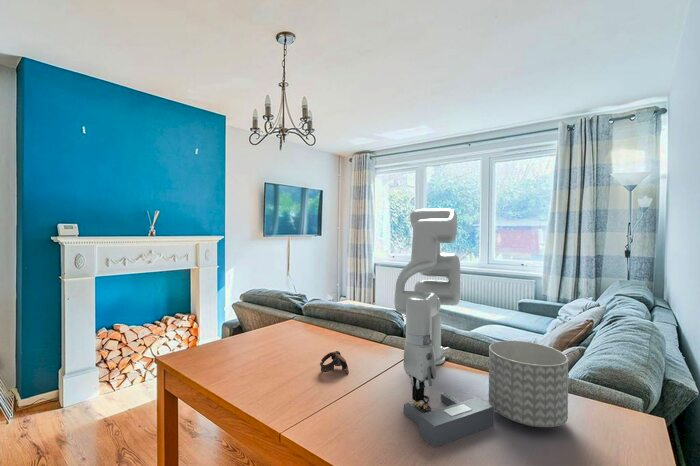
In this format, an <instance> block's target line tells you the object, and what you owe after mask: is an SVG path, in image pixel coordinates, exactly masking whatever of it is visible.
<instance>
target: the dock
mask: <svg viewBox="0 0 700 466" xmlns="http://www.w3.org/2000/svg"><path fill="white" fill-rule="evenodd" d="M440 403H442V404H443V405H444V406H445V407H441V408H438V409H434V410H431V412H427V413H426V412H424V413H422V412H421V411H419V409H417V407H413V405H412V404H410V403H409V402H406V403H403V414H405V415H406V417H408V418H409V419H410V420H412V421H413V422H414V423H415V424H417V425H418V426H419V436H420V437H421V438H422V439H424V440H425V441H426V442H427V443H429V444H430V445H431V446H432V447H434V448H437V447H440V446H442V445H444V444H445V445H446V444H447V443H450V442H453V441H455V440H459V439H461V438H464V437H467V436H469V435H472V434H475V433H477V432H481V431H483V430H485V429H488V428H491V427H494V426H493V425H494V422H495V421H494V419H495V418H494V417H495V415H494V414H495V410H494V406H492V405H490V403H489V402H486V401H485V400H483V399H481V398H479V397H478V396H477V397H474V398H470V399H467V400H463V401H459V400H458V399H456V398H454V397H453V396H451V395H449V394H448V393H446V392H441V393H440Z"/></svg>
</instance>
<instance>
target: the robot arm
mask: <svg viewBox="0 0 700 466" xmlns="http://www.w3.org/2000/svg"><path fill="white" fill-rule="evenodd" d="M409 214H410V215H409V220H410V224H411V227H412V241H411V242H412V243H411V253H410V254H411V255H410V261H409V262H408V263H407V264H406V265H405V266H404V267H403V269H402V270H401V271H400V273H399V274H398V276H397V278H396V283H395V289H394V290H395V291H394V309H395V311H396V312H397V313H398V314H400V315H401V314H402V315H405V342H404V347H403V348H404V349H403V369H404V371H405V374H406V375H407V376H408V377H409V379H410V385H411V387H412V388H411V391H412V394H411V396H412V397H411V398H412V400H413V401H414V402H415V403H416V402H420V401H421V402H423V400H424V399H425V398H424V395H425V388H426V387H427V388H429V387H432V386H433V384H432V383H433V382H432V380H436V377H437V368H436V367H437V365H441V364H444V363H445V362H446V356H444V354H446V353H450V351H451V349H450V347H449V346H446V347H443V346H442V317H441V316H442V315H441V313H440V309H441V306H450V307H451V306H458V304H459V303H460V300H461V262H460V259H459V255H457V254H456V253H452V252H451V253H449V252H441V243H442V244H453V243H454V242H455V241H456V238H457V234H458V214H457V212H456V210H455V209H452V208H420V209H415V210H413V211H411V213H409ZM418 273H419V274H420V275H421V276H422V277H431V278H432V277H433V278H446V279H448V280H441V279H439V280H438V279H421V280H417V282H416V283H415V285H414V290H405V287H406V284H407V282H408V281H409V279H411V277H413V276H415V275H416V274H418Z"/></svg>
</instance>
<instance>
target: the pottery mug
mask: <svg viewBox="0 0 700 466" xmlns="http://www.w3.org/2000/svg"><path fill="white" fill-rule="evenodd" d="M330 358H331V362H329V363H327V364H325V362H326V361H327V360H328V359H330ZM319 366H320V372H321V373H329V372H335V367H341V369H342V370H344V371H345V372H346V375H347V376H348V375H349V374H350V373H349V372H350V371H349V367H348V364H347V361H346V359H345V358H344V356H343V355H341V352H340V351H338V350H336V351H332V352H329V353H326V354H325V355H324V356H323V357H322V358H321V361H320V362H319Z"/></svg>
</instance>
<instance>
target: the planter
mask: <svg viewBox="0 0 700 466" xmlns="http://www.w3.org/2000/svg"><path fill="white" fill-rule="evenodd" d="M488 404H490V405H492V406H494V412H496V413H498V414H500V415H501V416H502V417H504V418H506V419H509V420H510V421H513V422H515V423H517V424H520V425H523V426H525V427H526V426H527V427H532V428H555V427H560V426H562V425H564V424H566V423H567V421H568V419H569V357H568V356H567V355H566V354H565V353H563V352H562V351H560V350H558V349H556V348H553V347H550V346H548V345H544V344H540V343H534V342H529V341H522V340H498V341H495V342H493V343H491V344H489V346H488Z"/></svg>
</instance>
